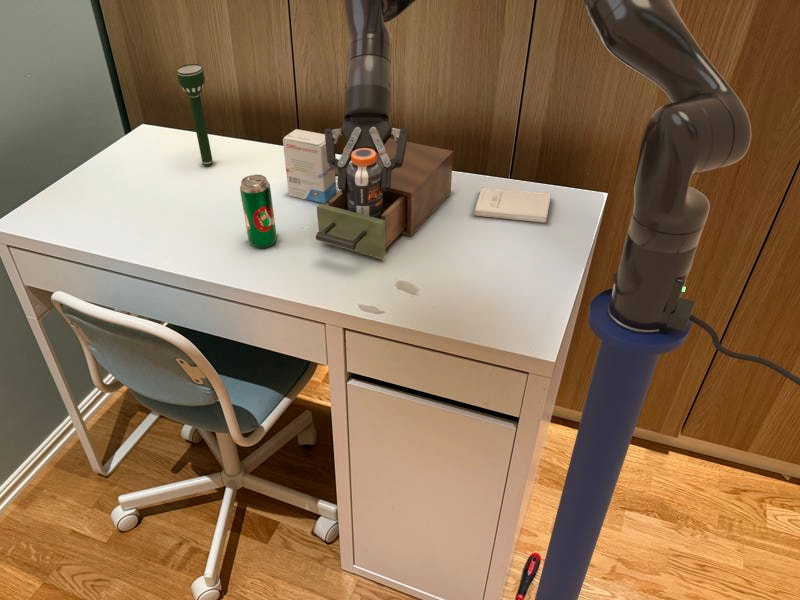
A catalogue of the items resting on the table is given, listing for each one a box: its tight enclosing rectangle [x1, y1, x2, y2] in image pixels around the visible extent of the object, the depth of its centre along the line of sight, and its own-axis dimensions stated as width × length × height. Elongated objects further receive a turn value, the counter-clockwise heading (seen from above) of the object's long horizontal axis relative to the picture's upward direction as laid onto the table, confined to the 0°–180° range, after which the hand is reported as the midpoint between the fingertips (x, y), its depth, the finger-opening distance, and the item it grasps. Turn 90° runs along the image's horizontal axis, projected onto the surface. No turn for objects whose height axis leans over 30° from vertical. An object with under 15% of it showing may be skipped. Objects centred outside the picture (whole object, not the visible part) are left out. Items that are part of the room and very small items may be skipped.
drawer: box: [315, 190, 407, 260], centre depth 122 cm, size 20×12×7 cm, turn 148°
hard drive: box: [474, 187, 552, 224], centre depth 128 cm, size 2×8×12 cm
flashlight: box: [176, 63, 214, 168], centre depth 143 cm, size 5×5×20 cm
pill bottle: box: [346, 148, 383, 219], centre depth 118 cm, size 6×6×11 cm
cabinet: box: [376, 137, 454, 238], centre depth 129 cm, size 17×14×9 cm
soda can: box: [239, 174, 278, 249], centre depth 123 cm, size 5×5×12 cm
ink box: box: [282, 128, 337, 205], centre depth 134 cm, size 9×5×12 cm, turn 59°
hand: (363, 191), depth 117 cm, fingers closed on pill bottle, 6 cm apart
